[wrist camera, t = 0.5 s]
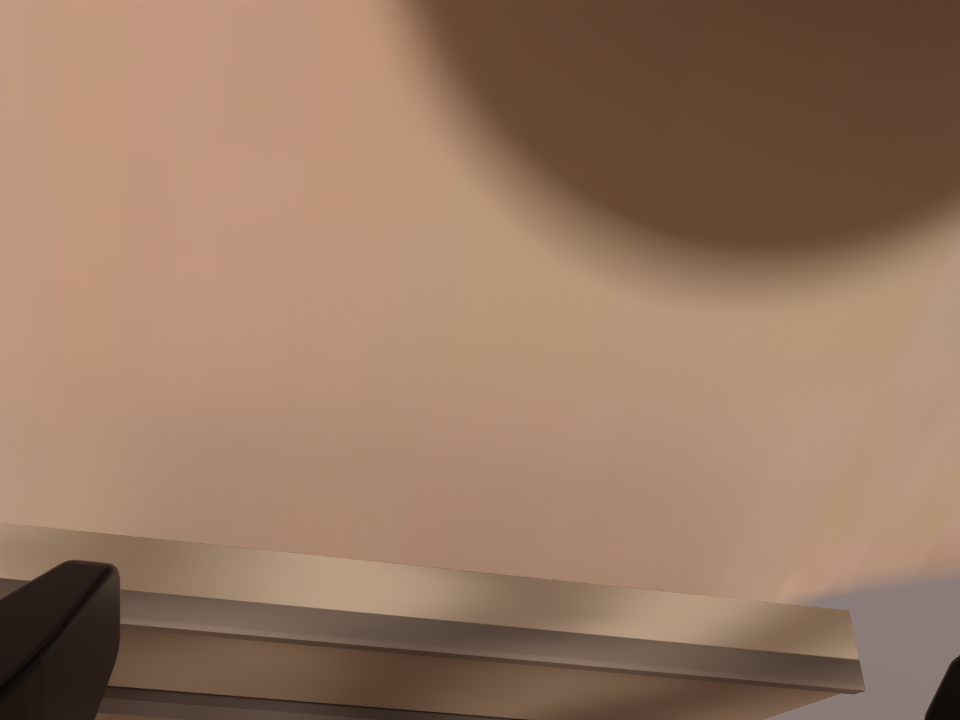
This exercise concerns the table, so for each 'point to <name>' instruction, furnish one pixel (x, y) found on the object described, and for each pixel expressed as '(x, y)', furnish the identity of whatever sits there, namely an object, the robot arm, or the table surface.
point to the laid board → (245, 708)
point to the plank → (443, 635)
